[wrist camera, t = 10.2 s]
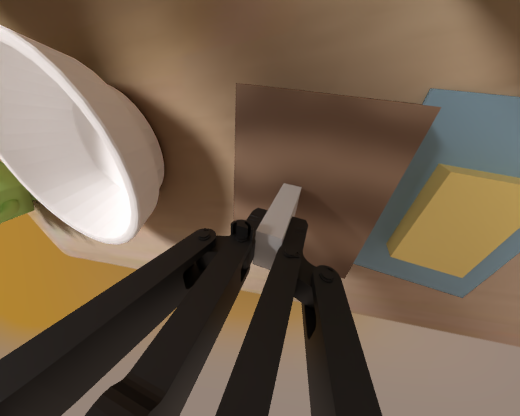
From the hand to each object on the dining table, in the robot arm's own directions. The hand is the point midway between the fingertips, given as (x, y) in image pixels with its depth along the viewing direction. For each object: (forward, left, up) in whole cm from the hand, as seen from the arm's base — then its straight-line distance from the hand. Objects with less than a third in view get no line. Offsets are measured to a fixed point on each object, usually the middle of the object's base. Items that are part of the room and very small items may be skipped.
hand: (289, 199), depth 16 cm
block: (+1, +14, -3) cm, 14 cm away
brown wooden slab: (0, +1, -5) cm, 5 cm away
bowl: (+1, -25, -5) cm, 26 cm away
